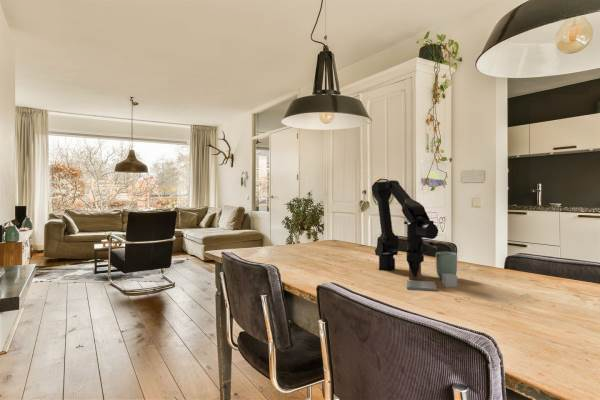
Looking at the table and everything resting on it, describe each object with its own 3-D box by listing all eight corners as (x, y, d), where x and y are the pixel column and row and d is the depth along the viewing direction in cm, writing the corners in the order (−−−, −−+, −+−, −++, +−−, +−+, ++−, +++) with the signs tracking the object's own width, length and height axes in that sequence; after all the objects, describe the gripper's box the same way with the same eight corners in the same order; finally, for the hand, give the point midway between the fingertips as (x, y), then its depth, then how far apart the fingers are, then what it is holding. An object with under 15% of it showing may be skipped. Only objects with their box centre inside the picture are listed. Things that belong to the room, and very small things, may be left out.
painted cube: (446, 287, 132) (445, 276, 132) (442, 284, 136) (442, 273, 136) (457, 287, 131) (457, 276, 131) (452, 284, 135) (452, 273, 135)
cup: (460, 280, 140) (460, 254, 140) (440, 280, 140) (440, 255, 140) (452, 276, 148) (452, 251, 148) (433, 276, 148) (433, 251, 148)
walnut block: (409, 279, 143) (408, 264, 143) (409, 277, 147) (408, 262, 147) (421, 280, 142) (420, 264, 142) (420, 277, 146) (420, 262, 146)
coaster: (406, 289, 129) (406, 287, 129) (407, 282, 139) (407, 280, 139) (436, 291, 126) (436, 288, 126) (434, 283, 136) (434, 281, 136)
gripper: (438, 239, 133) (438, 282, 133) (434, 233, 151) (434, 271, 151) (406, 239, 136) (406, 280, 137) (406, 233, 154) (407, 269, 154)
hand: (414, 275), depth 145 cm, fingers closed on walnut block, 4 cm apart
